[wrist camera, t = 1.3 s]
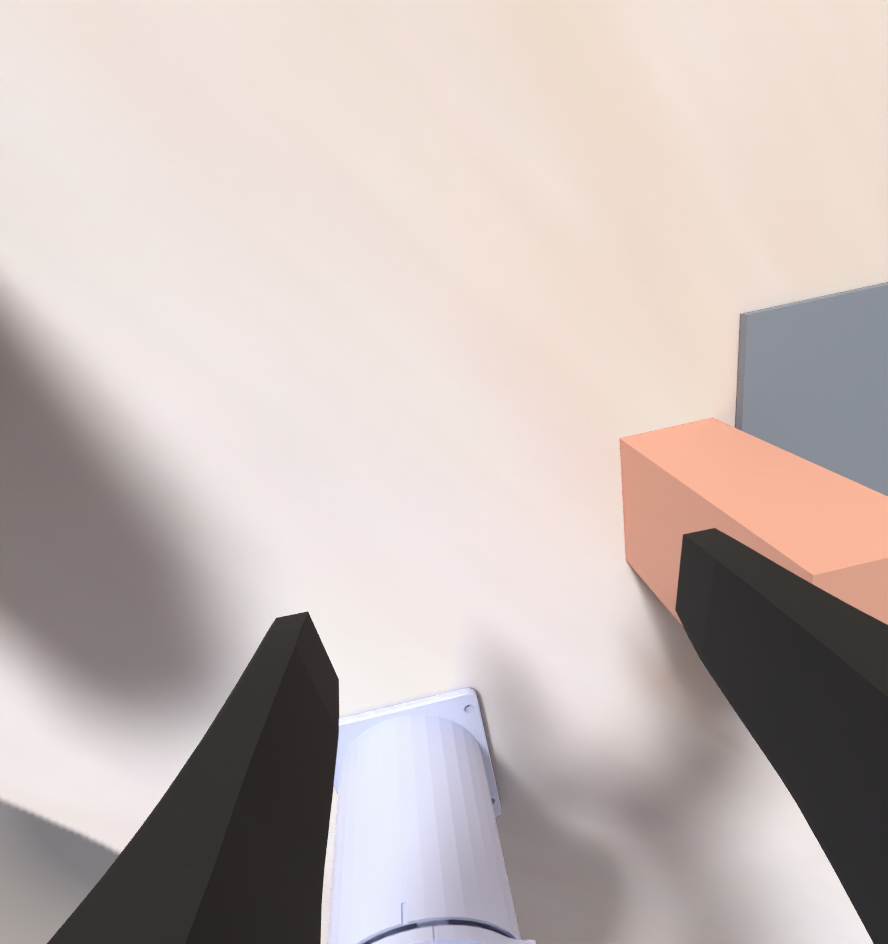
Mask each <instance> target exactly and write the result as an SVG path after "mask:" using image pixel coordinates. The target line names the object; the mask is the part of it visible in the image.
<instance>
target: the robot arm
mask: <svg viewBox="0 0 888 944" xmlns="http://www.w3.org/2000/svg"><path fill="white" fill-rule="evenodd" d="M675 611H676V613H677V615H678V617H679V619H680V621H681V623H682V625H683V627H684V629H685V631H686V633H687V635H688V637H689V639H690V640H691V642H692V644H693V646H694V648H695V650H696V652H697V654H698V655H699V657H700V659H701V661H702V662H703V664H704V665H705V667H706V668H707V670H708V671H709V673H710V674H711V676H712V677H713V679H714V680H715V682H716V683H717V685H718V686H719V688H720V689H721V691H722V692H723V694H724V695H725V697H726V698H727V700H728V701H729V703H730V704H731V706H732V707H733V709H734V710H735V712H736V713H737V714H738V716H739V717H740V719H741V720H742V722H743V723H744V725H745V726H746V728H747V729H748V731H749V732H750V734H751V735H752V737H753V738H754V739H755V741H756V742H757V744H758V745H759V747H760V748H761V750H762V751H763V753H764V754H765V756H766V757H767V759H768V760H769V761H770V763H771V764H772V766H773V767H774V769H775V770H776V772H777V773H778V775H779V776H780V778H781V779H782V781H783V783H784V784H785V786H786V787H787V789H788V790H789V792H790V794H791V795H792V797H793V798H794V800H795V802H796V803H797V805H798V807H799V808H800V810H801V812H802V814H803V815H804V817H805V819H806V821H807V822H808V824H809V826H810V828H811V830H812V831H813V833H814V835H815V837H816V838H817V840H818V842H819V844H820V846H821V847H822V849H823V851H824V853H825V854H826V856H827V858H828V860H829V862H830V863H831V865H832V867H833V869H834V870H835V872H836V874H837V876H838V878H839V880H840V882H841V884H842V885H843V887H844V889H845V891H846V893H847V895H848V897H849V898H850V900H851V902H852V904H853V906H854V908H855V910H856V911H857V913H858V915H859V917H860V919H861V921H862V923H863V924H864V926H865V928H866V930H867V932H868V934H869V936H870V937H871V939H872V941H873V943H874V944H888V625H887V624H885V623H883V622H881V621H879V620H877V619H876V618H874V617H872V616H870V615H868V614H866V613H864V612H862V611H861V610H859V609H857V608H855V607H853V606H851V605H849V604H847V603H846V602H844V601H842V600H840V599H838V598H837V597H835V596H833V595H831V594H829V593H828V592H826V591H824V590H822V589H820V588H819V587H817V586H815V585H813V584H811V583H810V582H808V581H806V580H804V579H803V578H801V577H799V576H797V575H796V574H794V573H792V572H791V571H789V570H787V569H785V568H784V567H782V566H780V565H778V564H777V563H775V562H773V561H772V560H770V559H768V558H766V557H765V556H763V555H761V554H760V553H758V552H756V551H754V550H753V549H751V548H749V547H748V546H746V545H744V544H742V543H741V542H739V541H737V540H736V539H734V538H732V537H730V536H729V535H727V534H725V533H723V532H721V531H719V530H718V529H716V528H712V529H707V530H702V531H697V532H692V533H687V534H683V539H682V548H681V558H680V568H679V578H678V587H677V597H676V607H675ZM467 705H471V706H467ZM333 785H334V787H335V789H336V792H337V794H338V800H337V814H336V827H335V840H334V854H333V867H332V881H331V894H330V907H329V921H328V934H327V944H537V943H536V941H535V940H534V939H529V940H521V936H520V931H519V927H518V922H517V917H516V913H515V908H514V903H513V899H512V894H511V889H510V885H509V880H508V875H507V871H506V866H505V861H504V857H503V852H502V847H501V843H500V838H499V833H498V829H497V824H496V819H495V818H497V817H499V816H500V815H501V813H502V809H501V804H500V799H499V795H498V790H497V786H496V781H495V776H494V772H493V767H492V763H491V758H490V754H489V749H488V744H487V740H486V735H485V731H484V726H483V722H482V717H481V712H480V708H479V703H478V699H477V694H476V692H475V691H474V690H473V689H471V688H464V689H460V690H456V691H452V692H447V693H443V694H439V695H435V696H431V697H427V698H423V699H418V700H414V701H410V702H406V703H402V704H398V705H394V706H389V707H385V708H381V709H377V710H373V711H369V712H365V713H360V714H356V715H352V716H348V717H344V718H340V719H339V679H338V677H337V675H336V673H335V670H334V668H333V666H332V664H331V661H330V659H329V657H328V655H327V653H326V650H325V648H324V646H323V644H322V642H321V639H320V637H319V635H318V633H317V630H316V628H315V626H314V624H313V622H312V619H311V617H310V615H309V613H308V612H303V613H299V614H294V615H289V616H284V617H279V618H276V619H275V621H274V622H273V624H272V625H271V627H270V629H269V630H268V632H267V634H266V635H265V637H264V639H263V640H262V642H261V644H260V645H259V647H258V649H257V650H256V652H255V654H254V656H253V657H252V659H251V661H250V662H249V664H248V666H247V667H246V669H245V671H244V672H243V674H242V676H241V677H240V679H239V681H238V682H237V684H236V686H235V687H234V689H233V691H232V692H231V694H230V696H229V697H228V699H227V700H226V702H225V704H224V705H223V707H222V708H221V710H220V712H219V713H218V715H217V716H216V718H215V720H214V721H213V723H212V724H211V726H210V728H209V729H208V731H207V732H206V734H205V735H204V737H203V738H202V740H201V742H200V743H199V745H198V746H197V748H196V749H195V750H194V752H193V753H192V755H191V756H190V758H189V759H188V761H187V762H186V764H185V765H184V767H183V768H182V770H181V771H180V773H179V774H178V775H177V777H176V778H175V780H174V781H173V783H172V784H171V786H170V787H169V789H168V790H167V792H166V793H165V794H164V796H163V797H162V799H161V800H160V801H159V803H158V804H157V806H156V807H155V808H154V810H153V811H152V813H151V814H150V815H149V817H148V818H147V819H146V821H145V822H144V823H143V825H142V826H141V827H140V829H139V830H138V832H137V833H136V834H135V836H134V837H133V838H132V839H131V841H130V842H129V843H128V845H127V846H126V847H125V849H124V850H123V851H122V852H121V854H120V855H119V856H118V858H117V859H116V860H115V862H114V863H113V864H112V865H111V867H110V868H109V869H108V871H107V872H106V873H105V875H104V876H103V877H102V878H101V880H100V881H99V882H98V883H97V884H96V885H95V887H94V888H93V889H92V890H91V892H90V893H89V894H88V895H87V897H86V898H85V899H84V900H83V901H82V903H81V904H80V905H79V906H78V907H77V909H76V910H75V911H74V913H72V915H71V916H70V917H69V918H68V919H67V921H66V922H65V923H64V924H63V925H62V927H61V928H60V929H59V930H58V931H57V933H56V934H55V935H54V936H53V937H52V938H51V940H50V941H49V942H48V943H47V944H320V939H321V904H322V890H323V877H324V866H325V857H326V848H327V839H328V830H329V821H330V812H331V803H332V794H333Z"/></svg>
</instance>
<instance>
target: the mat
mask: <svg viewBox="0 0 888 944" xmlns="http://www.w3.org/2000/svg"><path fill="white" fill-rule="evenodd" d="M735 428H736V429H739V430H741V431H743V432H745V433H748V434H750V435H752V436H754V437H756V438H759V439H761V440H763V441H765V442H768V443H770V444H772V445H774V446H776V447H779V448H781V449H783V450H785V451H788V452H790V453H792V454H794V455H796V456H799V457H801V458H803V459H805V460H808V461H810V462H812V463H814V464H817V465H819V466H821V467H823V468H825V469H828V470H830V471H832V472H834V473H837V474H839V475H841V476H843V477H845V478H848V479H850V480H852V481H854V482H857V483H859V484H861V485H863V486H865V487H868V488H870V489H872V490H874V491H877V492H879V493H881V494H883V495H885V496H888V282H887V283H882V284H878V285H873V286H868V287H864V288H859V289H854V290H850V291H845V292H841V293H836V294H831V295H827V296H822V297H817V298H813V299H808V300H803V301H799V302H794V303H789V304H785V305H780V306H775V307H771V308H766V309H761V310H757V311H752V312H747V313H743V314H740V336H739V358H738V380H737V402H736V424H735Z"/></svg>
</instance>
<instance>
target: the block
mask: <svg viewBox="0 0 888 944" xmlns="http://www.w3.org/2000/svg"><path fill="white" fill-rule="evenodd" d="M620 455H621V475H622V494H623V514H624V533H625V553H626V561H627V562H628V563H629V564H630V565H631V566H632V568H633V569H634V570H635V571H636V572H637V574H638V575H639V576H640V577H641V578H642V579H643V581H644V582H645V583H646V584H647V585H648V587H649V588H650V589H651V590H652V591H653V592H654V594H655V595H656V596H657V597H658V598H659V599H660V601H661V602H662V603H663V604H664V605H665V607H666V608H667V609H668V610H669V611H670V612H671V614H672V615H673V616H674V617H675V618H676V620H677V621H678V622H679V623H680V624H681V625H682V623H681V621H680V619H679V617H678V615H677V613H676V611H675V607H676V597H677V587H678V578H679V568H680V558H681V548H682V539H683V534H687V533H692V532H697V531H702V530H707V529H712V528H716V529H718V530H719V531H721V532H723V533H725V534H727V535H729V536H730V537H732V538H734V539H736V540H737V541H739V542H741V543H742V544H744V545H746V546H748V547H749V548H751V549H753V550H754V551H756V552H758V553H760V554H761V555H763V556H765V557H766V558H768V559H770V560H772V561H773V562H775V563H777V564H778V565H780V566H782V567H784V568H785V569H787V570H789V571H791V572H792V573H794V574H796V575H797V576H799V577H801V578H803V579H804V580H806V581H808V582H810V583H811V584H813V585H815V586H817V587H819V588H820V589H822V590H824V591H826V592H828V593H829V594H831V595H833V596H835V597H837V598H838V599H840V600H842V601H844V602H846V603H847V604H849V605H851V606H853V607H855V608H857V609H859V610H861V611H862V612H864V613H866V614H868V615H870V616H872V617H874V618H876V619H877V620H879V621H881V622H883V623H885V624H887V625H888V496H885V495H883V494H881V493H879V492H877V491H874V490H872V489H870V488H868V487H865V486H863V485H861V484H859V483H857V482H854V481H852V480H850V479H848V478H845V477H843V476H841V475H839V474H837V473H834V472H832V471H830V470H828V469H825V468H823V467H821V466H819V465H817V464H814V463H812V462H810V461H808V460H805V459H803V458H801V457H799V456H796V455H794V454H792V453H790V452H788V451H785V450H783V449H781V448H779V447H776V446H774V445H772V444H770V443H768V442H765V441H763V440H761V439H759V438H756V437H754V436H752V435H750V434H748V433H745V432H743V431H741V430H739V429H736V428H734V427H732V426H730V425H728V424H725V423H723V422H721V421H719V420H716V419H714V418H709V419H704V420H700V421H695V422H691V423H686V424H682V425H677V426H673V427H668V428H664V429H659V430H655V431H650V432H646V433H641V434H637V435H632V436H628V437H624V438H620ZM682 627H683V625H682ZM683 628H684V627H683Z"/></svg>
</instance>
